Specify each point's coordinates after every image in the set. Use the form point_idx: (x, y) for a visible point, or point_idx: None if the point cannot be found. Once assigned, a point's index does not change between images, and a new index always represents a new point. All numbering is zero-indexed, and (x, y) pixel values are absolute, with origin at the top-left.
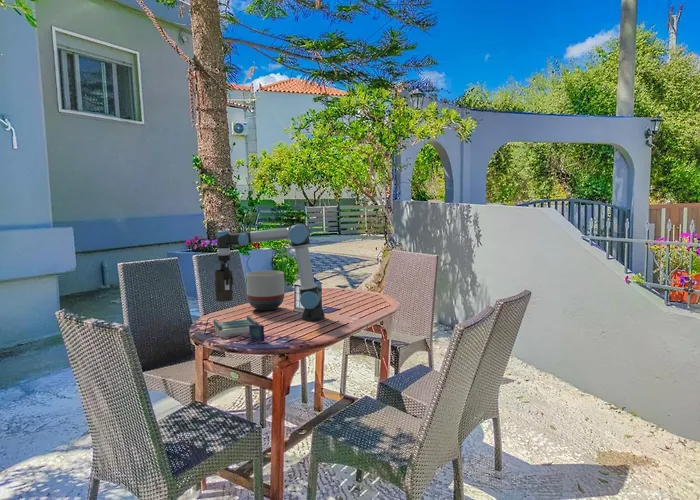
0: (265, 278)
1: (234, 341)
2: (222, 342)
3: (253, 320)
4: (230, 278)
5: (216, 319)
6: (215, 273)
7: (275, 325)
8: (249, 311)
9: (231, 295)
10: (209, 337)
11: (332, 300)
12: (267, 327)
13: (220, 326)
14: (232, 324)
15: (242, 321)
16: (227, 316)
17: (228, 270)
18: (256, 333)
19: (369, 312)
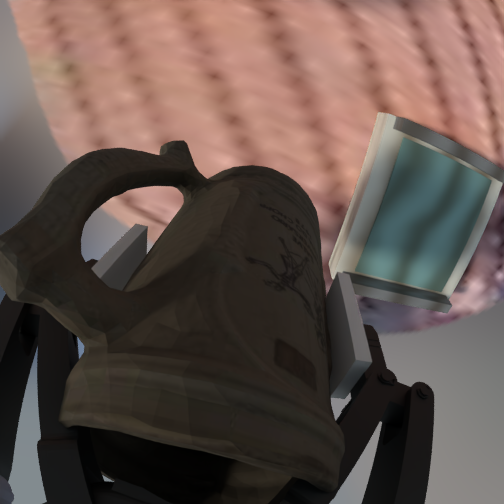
0: None
1: (494, 274)
2: (474, 302)
3: (492, 169)
4: (285, 311)
5: (352, 283)
6: (213, 490)
7: (454, 41)
8: (112, 4)
9: (306, 208)
10: (408, 312)
11: None
12: (461, 84)
13: (448, 308)
14: (425, 235)
15: (418, 173)
16: (137, 119)
17: (420, 501)
18: None
19: None
